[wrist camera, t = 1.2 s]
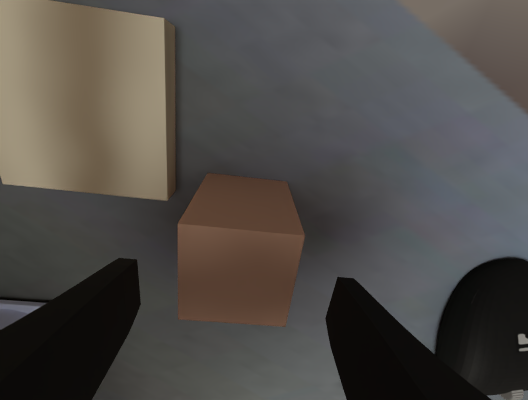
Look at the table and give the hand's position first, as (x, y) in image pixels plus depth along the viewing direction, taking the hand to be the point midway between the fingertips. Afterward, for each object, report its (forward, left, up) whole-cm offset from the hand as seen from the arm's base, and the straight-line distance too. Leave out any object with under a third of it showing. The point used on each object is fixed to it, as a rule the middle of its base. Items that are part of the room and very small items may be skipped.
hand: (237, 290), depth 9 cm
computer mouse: (+19, -7, -7) cm, 22 cm away
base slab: (-8, +5, -7) cm, 12 cm away
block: (0, 0, -7) cm, 7 cm away
